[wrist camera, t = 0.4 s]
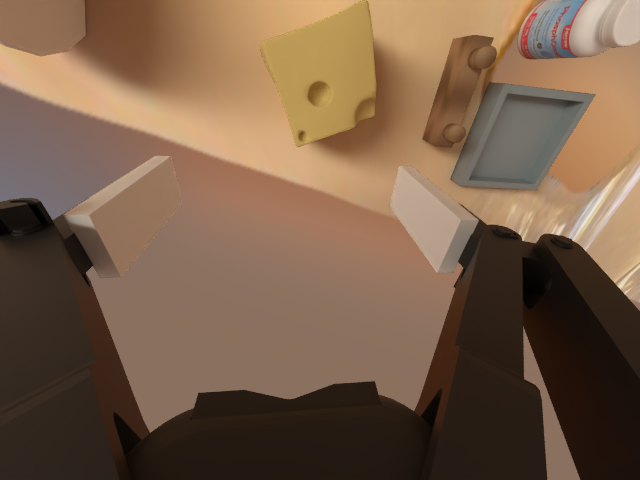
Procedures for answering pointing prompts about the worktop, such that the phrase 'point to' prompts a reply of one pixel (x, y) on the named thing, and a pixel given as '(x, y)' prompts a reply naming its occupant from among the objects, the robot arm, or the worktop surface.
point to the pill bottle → (578, 28)
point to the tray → (518, 135)
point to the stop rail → (457, 88)
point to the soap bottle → (42, 25)
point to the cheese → (325, 73)
